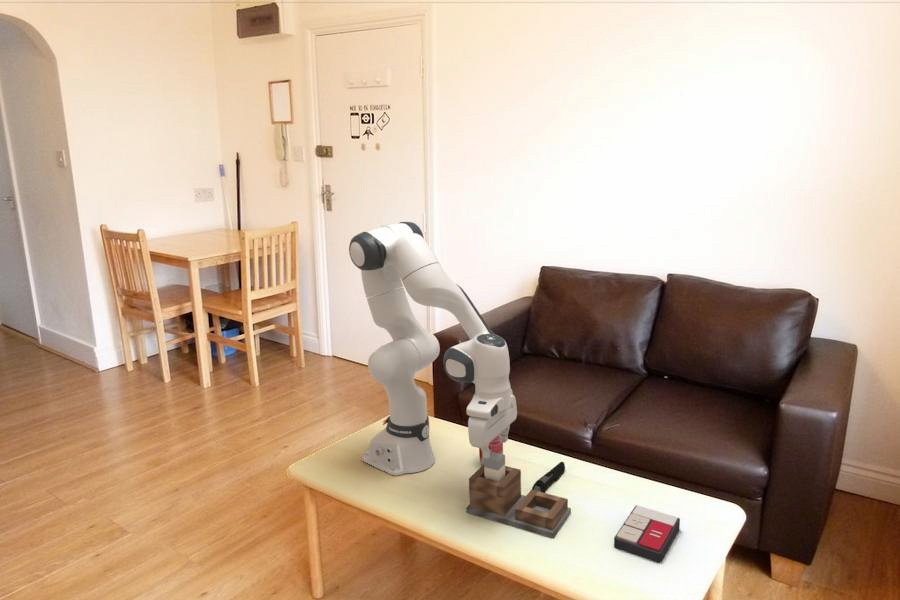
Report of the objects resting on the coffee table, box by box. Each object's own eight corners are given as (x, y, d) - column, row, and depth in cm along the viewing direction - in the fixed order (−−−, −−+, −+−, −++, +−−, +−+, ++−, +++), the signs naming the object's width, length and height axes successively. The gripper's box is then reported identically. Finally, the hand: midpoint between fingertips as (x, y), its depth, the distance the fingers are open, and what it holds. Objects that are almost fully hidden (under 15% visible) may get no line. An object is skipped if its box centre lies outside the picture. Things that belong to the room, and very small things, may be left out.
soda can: (481, 456, 196) (480, 420, 193) (504, 458, 194) (503, 421, 191) (477, 468, 189) (476, 430, 186) (501, 469, 188) (500, 432, 185)
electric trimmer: (568, 472, 186) (568, 462, 185) (542, 496, 174) (542, 486, 173) (557, 469, 188) (557, 459, 187) (530, 492, 176) (530, 482, 175)
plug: (484, 486, 167) (484, 458, 165) (491, 478, 170) (491, 451, 168) (498, 489, 165) (498, 461, 163) (505, 482, 168) (504, 454, 166)
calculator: (613, 535, 150) (635, 502, 162) (613, 550, 151) (635, 516, 163) (660, 551, 144) (680, 515, 155) (660, 567, 145) (679, 530, 157)
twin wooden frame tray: (466, 512, 167) (465, 479, 165) (487, 490, 177) (486, 459, 175) (553, 538, 155) (553, 503, 153) (570, 513, 165) (571, 479, 163)
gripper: (500, 382, 172) (502, 430, 175) (462, 411, 155) (465, 463, 158) (522, 386, 169) (523, 434, 172) (485, 415, 152) (488, 469, 155)
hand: (495, 448), depth 165 cm, fingers open, 8 cm apart
